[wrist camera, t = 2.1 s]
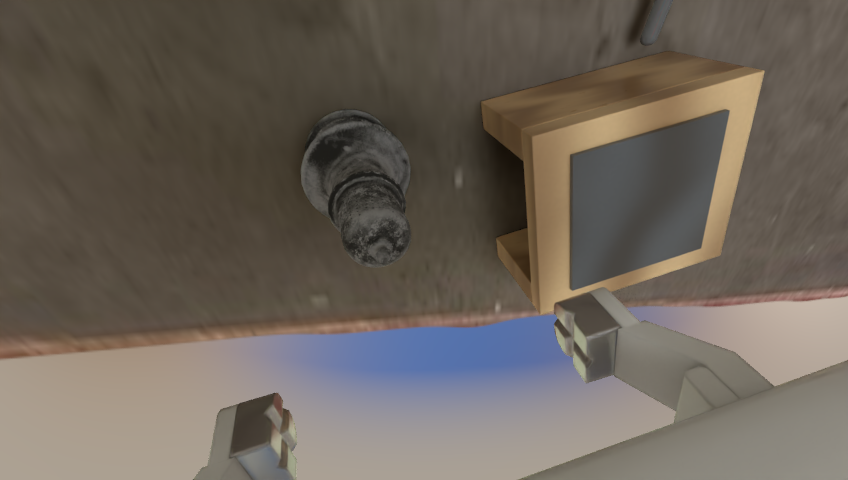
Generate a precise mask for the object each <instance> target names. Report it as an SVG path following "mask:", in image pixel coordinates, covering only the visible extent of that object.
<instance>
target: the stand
mask: <svg viewBox="0 0 848 480" xmlns="http://www.w3.org/2000/svg"><path fill="white" fill-rule="evenodd" d="M763 76H764V70H759V69H754V68H749V67H744V66H739V65H734V64H729V63H725V62H720V61H715V60H710V59H705V58H701V57H696V56H691V55H686V54H681V53H676V52H672V51H666V52H662V53H659V54H655V55H651V56H647V57H644V58H640V59H636V60H633V61H629V62H625V63H622V64H618V65H614V66H610V67H607V68H603V69H599V70H596V71H592V72H588V73H585V74H581V75H577V76H574V77H570V78H566V79H562V80H559V81H555V82H551V83H548V84H544V85H540V86H537V87H533V88H529V89H525V90H522V91H518V92H514V93H511V94H507V95H503V96H500V97H496V98H492V99H488V100H485V101H481V110H482V118H483V127H484V130H486V131H487V132H488V133H489V134H491V135H492V136H493V137H494V138H495V139H497V140H498V141H499V142H500V143H502V144H503V145H504V146H505V147H507V148H508V149H509V150H510V151H511V152H513V153H514V154H515V155H516V156H518V157H519V158H520V159H521V160H523V161H524V175H525V192H526V208H527V224H528V228H525V229H522V230H519V231H516V232H512V233H509V234H506V235H503V236H499V237H497V238H496V243H497V252H498V257H499V258H500V260H501V261H502V262H503V264H504V265H505V266H506V268H507V269H508V271H509V272H510V273H511V275H512V276H513V277H514V279H515V280H516V282H517V283H518V284H519V286H520V287H521V288H522V290H523V291H524V293H525V294H526V295H527V297H528V298H529V299H530V301H531V302H532V304H533V305H534V307H535V308H536V309H537V311H538V312H539V313H540V315H543V314H546V313H549V312H552V311H554V304H555V302H558V301H561V300H564V299H567V298H570V297H573V296H576V295H579V294H582V293H587V292H589V291H592V290H595V289H598V288H601V287H604V288H607V289H608V290H609V291H610V292H612V291H615V290H618V289H621V288H624V287H627V286H630V285H633V284H636V283H639V282H642V281H645V280H648V279H651V278H654V277H657V276H660V275H663V274H666V273H669V272H672V271H675V270H678V269H681V268H684V267H687V266H690V265H693V264H696V263H699V262H702V261H705V260H708V259H711V258H714V257H717V256H720V254H721V250H722V246H723V242H724V238H725V233H726V229H727V225H728V221H729V217H730V213H731V209H732V204H733V200H734V196H735V192H736V188H737V184H738V180H739V175H740V171H741V167H742V163H743V159H744V155H745V151H746V146H747V142H748V138H749V134H750V130H751V126H752V122H753V117H754V113H755V109H756V105H757V101H758V97H759V93H760V88H761V84H762V80H763Z"/></svg>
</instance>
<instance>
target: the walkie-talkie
mask: <svg viewBox="0 0 848 480" xmlns="http://www.w3.org/2000/svg"><path fill="white" fill-rule="evenodd" d="M672 2H673V0H655V1H654V4H653V7H652V9H651V12H650V14H649V17H648V19H647V22H646V24H645V27H644V30H643V32H642V35H641V38H640V42H641V44H643V45H645V46H647V45H651V44H653V43H654V42H655V41H656V40H657V38H658V36H659V33H660V31H661V28H662V26H663V24H664V21H665V19H666V16H667V14H668V11H669V9H670V7H671V4H672Z"/></svg>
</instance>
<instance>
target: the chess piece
mask: <svg viewBox="0 0 848 480" xmlns="http://www.w3.org/2000/svg"><path fill="white" fill-rule="evenodd" d="M410 173H411V167H410V162H409V157H408V154H407V152H406V150H405V148H404V146H403V144H402V143H401V142H400V141H399V140H398V139H397V137H396V136H395V135H394V134H393V133H392V132H390V131H388V130H387V129H386V127H385V126H384V125H383V124H382V123H381V122H380V121H379V120H378V119H377V118H375V117H374V116H372V115H370V114H369V113H366V112H363V111H360V110H352V109H344V110H339V111H335V112H332V113H330V114H328V115H326V116H325V117H323V118H322V119H320V120H319V121H318V122H317V123H316V124H315V125H314V126H313V128H312V130H311V132H310V133H309V135H308V138H307V142H306V146H305V154H304V158H303V162H302V166H301V183H302V186H303V189H304V192H305V194H306V197H307V198H308V199H309V201H310V202H311V204H312V205H313V206H314V207H315V208H316V209H317V210H318V211H319V212H321V213H322V214H323V215H324V216H326V217H329V218H330V220H331V222H332V223H333V225H334V226H335V228H336V229H337V230H338V231H340V232H341V237H342V242H343V245H344V248H345V250H346V252H347V253H348V254H349V256H350V257H351V259H353V260H354V261H355V262H357V263H358V264H361V265H363V266H367V267H383V266H387V265H390V264H392V263H394V262H396V261H398V260H399V259H400V258H401V257H402V256H403V255H404V254H405V253H406V251H407V250H408V248H409V245H410V243H411V229H410V224H409V222H408V220H407V218H406V216H405V214H404V213H405V208H406V200H405V193H406V191H407V188H408V185H409V182H410Z"/></svg>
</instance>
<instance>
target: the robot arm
mask: <svg viewBox="0 0 848 480" xmlns="http://www.w3.org/2000/svg"><path fill="white" fill-rule="evenodd" d="M554 314H555V315H556V316H557V318H558V319H557V320H556V322H555V323H554V327H555V334H556V337H557V341H558V343H559V345H560V347H561V349H562V350H563V351H564V353H565V354H566V355H568V356H570V357H573V358H574V360H573V363H574V367H575V368H576V370H577V371H578V373H579V374H580V376H581V377H582V378H583V380H584V381H585V382H586V383H589V382H592V381H595V380H599V379H602V378H605V377H608V376H611V375H614V376H615V377H616V378H618V379H620V380H622V381H624V382H625V383H627V384H629V385H631V386H632V387H634V388H636V389H638V390H639V391H641V392H643V393H645V394H647V395H648V396H650V397H652V398H654V399H655V400H657V401H659V402H661V403H662V404H664V405H666V406H668V407H670V408H671V409H673V410H675V411H676V414H675V419H674V423H673V424H670V425H668V426H665V427H662V428H659V429H656V430H654V431H651V432H648V433H645V434H643V435H640V436H637V437H634V438H632V439H629V440H626V441H623V442H620V443H618V444H615V445H612V446H609V447H607V448H604V449H601V450H598V451H596V452H593V453H590V454H587V455H585V456H582V457H579V458H576V459H574V460H571V461H568V462H566V463H563V464H560V465H557V466H554V467H551V468H549V469H546V470H543V471H541V472H538V473H535V474H532V475H530V476H527V477H524V478H521V479H518V480H848V360H847V361H844V362H841V363H838V364H836V365H833V366H830V367H828V368H825V369H822V370H819V371H817V372H814V373H811V374H808V375H805V376H803V377H800V378H797V379H794V380H792V381H789V382H786V383H783V384H781V385H778V386H773V385H772V384H771V383H770V382H769V381H768V380H767V379H765V378H764V377H763V376H762V375H761V374H760V373H758V372H757V371H756V370H755V369H754V368H753V367H751V366H750V365H749V364H748V363H747V362H746V361H745V360H743V359H742V358H741V357H740V356H739V355H738V354H736V353H735V352H733V351H730V350H727V349H724V348H721V347H719V346H716V345H713V344H710V343H707V342H704V341H701V340H699V339H696V338H693V337H690V336H687V335H685V334H682V333H679V332H676V331H673V330H670V329H668V328H665V327H662V326H659V325H656V324H653V323H650V322H648V321H642V322H640V321H639V320H638V319H637V318H636V317H635V316H634V315H633V314H632V313H631V312H630V311H629V310H628V309H627V308H626V307H625V306H624V305H623V304H622V303H621V302H620V301H619V300H618V299H617V298H616V297H615V296H614V295H613V294H612V293H611V292H610V291H609V290H608V289H607V288H604V287H601V288H598V289H595V290H592V291H589V292H587V293H582V294H579V295H576V296H573V297H570V298H567V299H564V300H561V301H558V302H555V304H554ZM296 438H297V437H296V429H295V423H294V421H293V418H292V416H291V414H290V412H289V410H286V409H284V408H283V400H282V398H281V397H280V395H279V394H278V393H273V394H270V395H267V396H263V397H260V398H256V399H253V400H249V401H246V402H243V403H240V404H237V405H234V406H230V407H227V408H223V409H221V410H220V411H219V413H218V415H217V419H216V425H215V430H214V434H213V440H212V445H211V450H210V456H209V460H208V466H206V467H203V468H202V469H201V470H200V471H199V472H198V474H197V475H196V476H195V478H194V479H193V480H296V458H295V456H294V455H293V453H292V451H293V449H294V448H295V446H296V444H297V439H296Z"/></svg>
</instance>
